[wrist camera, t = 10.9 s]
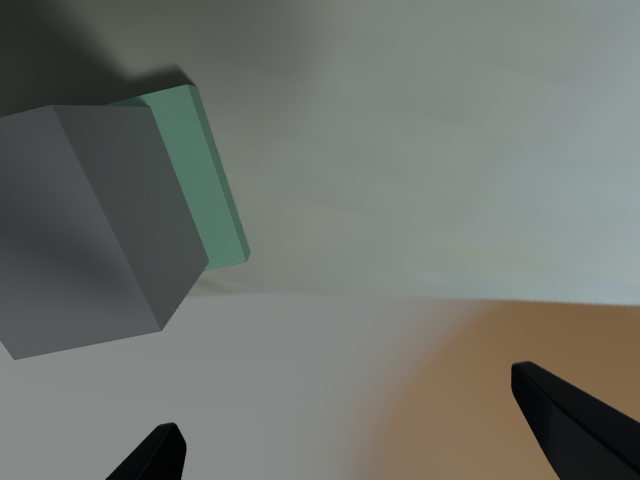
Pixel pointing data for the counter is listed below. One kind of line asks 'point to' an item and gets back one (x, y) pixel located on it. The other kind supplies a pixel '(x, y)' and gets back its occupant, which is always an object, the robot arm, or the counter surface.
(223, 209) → the pin board
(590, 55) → the counter surface
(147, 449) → the robot arm
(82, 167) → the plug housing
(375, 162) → the counter surface
